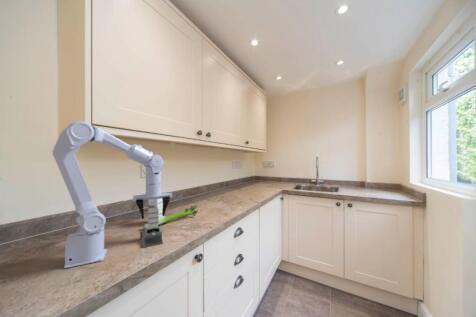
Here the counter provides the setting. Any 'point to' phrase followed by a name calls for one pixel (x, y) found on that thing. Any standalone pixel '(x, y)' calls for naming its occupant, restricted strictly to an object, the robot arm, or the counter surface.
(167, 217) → the leek
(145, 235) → the stand
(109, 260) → the counter surface
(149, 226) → the column
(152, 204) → the syrup box
